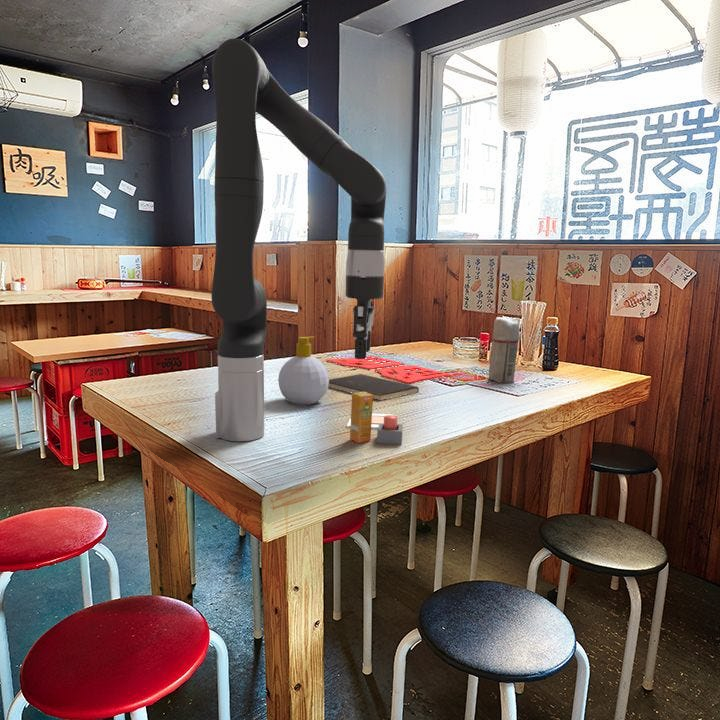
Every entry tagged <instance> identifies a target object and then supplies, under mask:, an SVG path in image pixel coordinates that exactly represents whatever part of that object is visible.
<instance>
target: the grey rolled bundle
mask: <svg viewBox="0 0 720 720" xmlns="http://www.w3.org/2000/svg"><path fill="white" fill-rule="evenodd" d="M519 340H520V323H519V321H518V320H516V319H514V318H508V317H502V316H497V317H496V318H495V319H494V323H493V327H492V338H491V347H490V348H491V350H490V358H489V360H490V361H489V367H488V378H487V379H488V380H490V381H495V382H499V383H513V382H515V372H516V362H517V354H518V345H519Z"/></svg>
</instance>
